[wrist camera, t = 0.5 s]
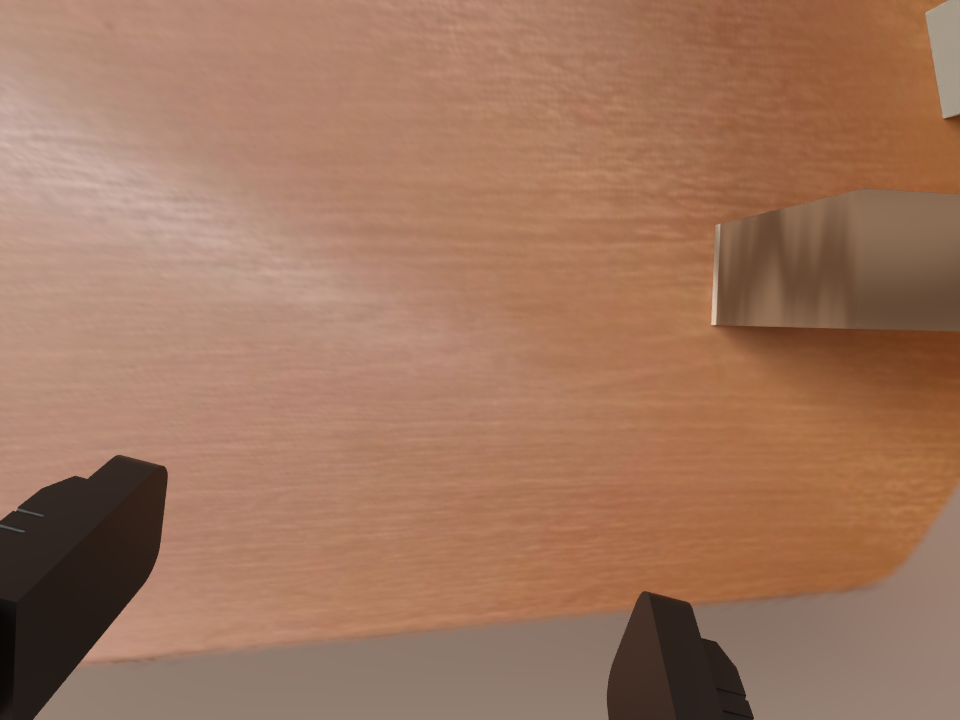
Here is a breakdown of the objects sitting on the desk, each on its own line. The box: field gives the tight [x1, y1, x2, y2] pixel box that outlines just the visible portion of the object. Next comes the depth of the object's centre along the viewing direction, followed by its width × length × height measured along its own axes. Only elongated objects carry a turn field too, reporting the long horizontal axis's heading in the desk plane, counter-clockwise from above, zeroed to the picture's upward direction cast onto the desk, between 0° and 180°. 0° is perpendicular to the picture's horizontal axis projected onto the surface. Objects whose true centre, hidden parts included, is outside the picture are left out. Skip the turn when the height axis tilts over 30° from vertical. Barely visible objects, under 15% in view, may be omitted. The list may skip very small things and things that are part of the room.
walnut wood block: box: [711, 189, 960, 332], centre depth 32 cm, size 5×5×11 cm
